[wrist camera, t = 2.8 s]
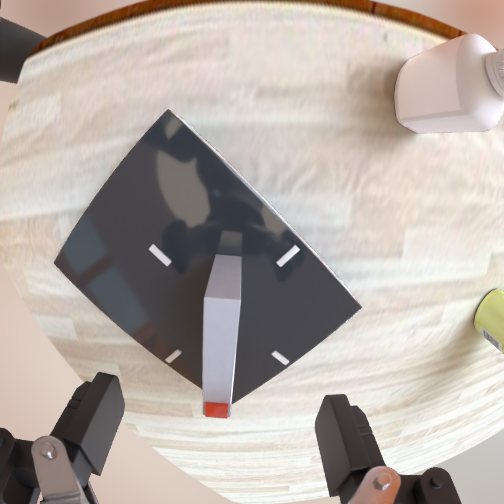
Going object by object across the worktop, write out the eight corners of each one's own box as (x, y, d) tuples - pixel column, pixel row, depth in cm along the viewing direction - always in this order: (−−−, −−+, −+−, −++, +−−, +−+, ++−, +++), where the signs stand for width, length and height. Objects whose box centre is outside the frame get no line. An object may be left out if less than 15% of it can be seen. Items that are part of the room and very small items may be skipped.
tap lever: (215, 253, 15) (202, 300, 10) (241, 256, 15) (241, 303, 10) (210, 357, 17) (202, 418, 13) (232, 358, 18) (230, 421, 13)
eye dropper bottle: (370, 93, 15) (507, 44, 4) (413, 53, 14) (532, 6, 3) (411, 142, 16) (556, 151, 5) (448, 99, 15) (575, 88, 4)
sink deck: (74, 249, 18) (51, 264, 15) (180, 116, 16) (167, 107, 13) (230, 380, 22) (228, 408, 19) (347, 287, 20) (363, 309, 17)
